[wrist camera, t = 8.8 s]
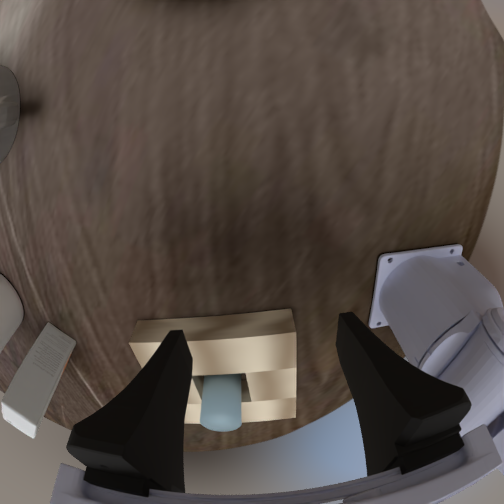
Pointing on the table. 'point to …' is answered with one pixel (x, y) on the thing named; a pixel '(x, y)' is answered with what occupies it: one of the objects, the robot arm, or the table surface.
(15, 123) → the coffee mug
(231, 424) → the peg
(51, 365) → the skincare box
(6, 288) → the pill bottle
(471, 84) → the table surface
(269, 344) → the socket block
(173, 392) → the robot arm
